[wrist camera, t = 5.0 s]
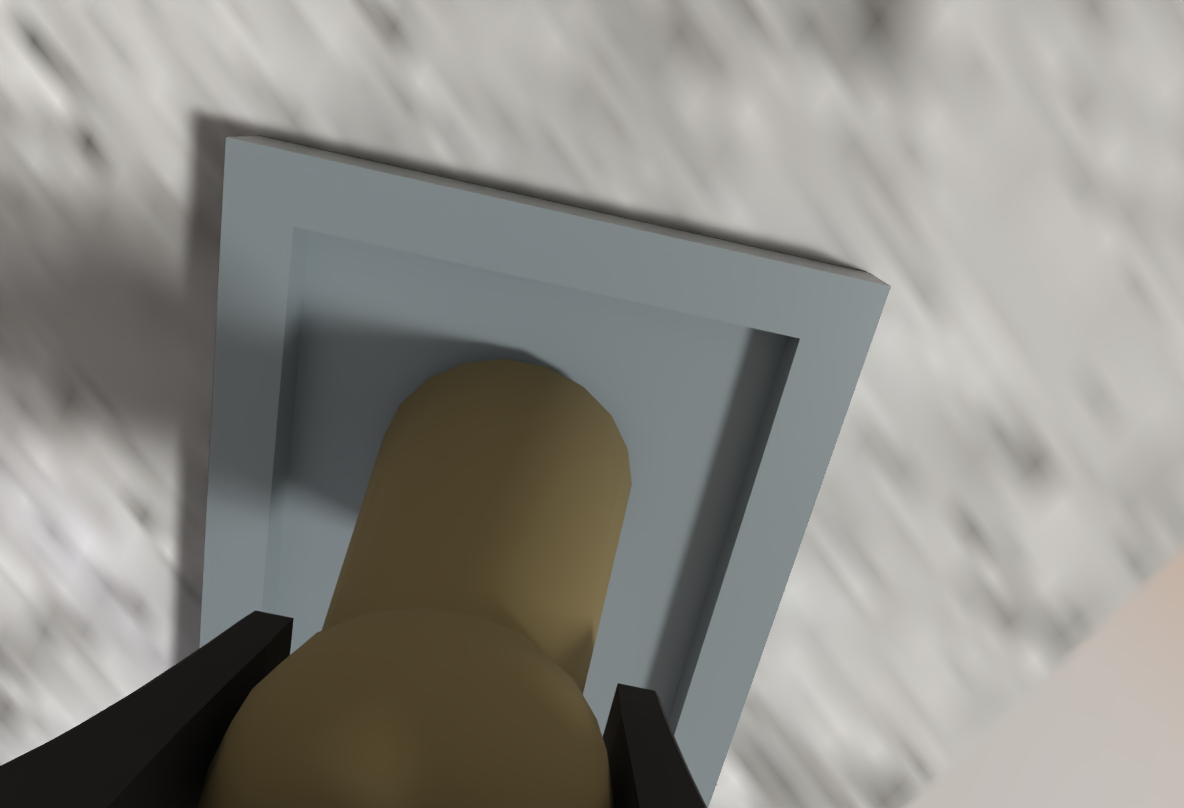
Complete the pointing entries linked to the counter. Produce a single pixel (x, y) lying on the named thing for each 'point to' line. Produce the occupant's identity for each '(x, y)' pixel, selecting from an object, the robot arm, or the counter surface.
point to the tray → (541, 337)
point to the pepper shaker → (453, 615)
